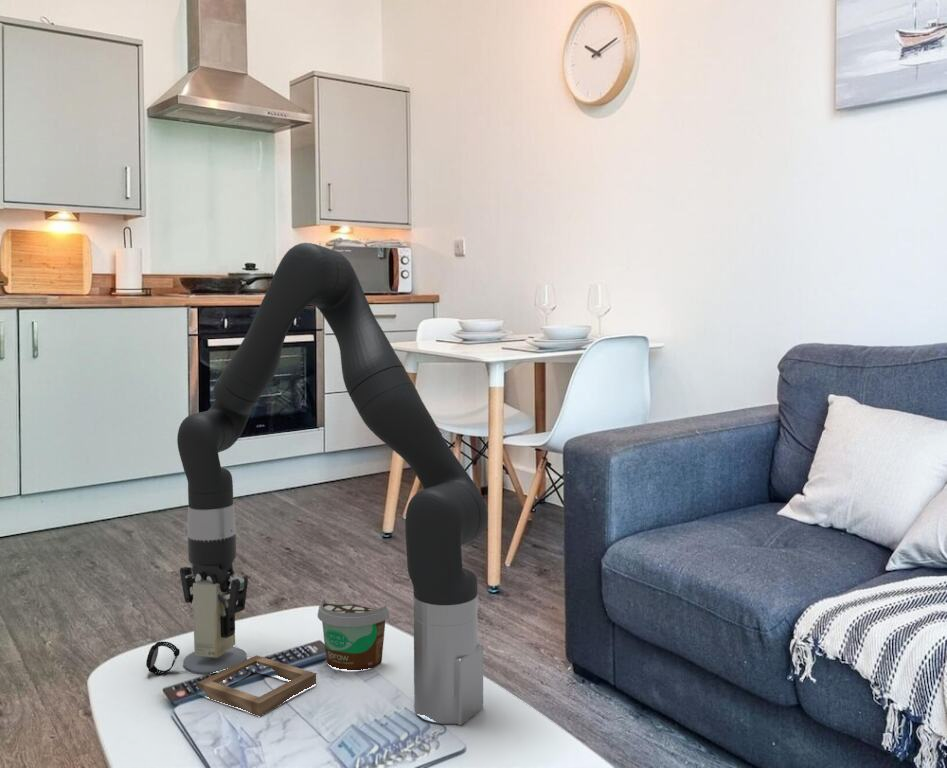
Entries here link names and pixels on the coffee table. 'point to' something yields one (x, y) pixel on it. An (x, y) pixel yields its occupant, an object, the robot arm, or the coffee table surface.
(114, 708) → the coffee table surface
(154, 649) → the smartwatch
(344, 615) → the food container
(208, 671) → the slate coaster
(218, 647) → the skincare box
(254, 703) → the frame
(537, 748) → the coffee table surface
